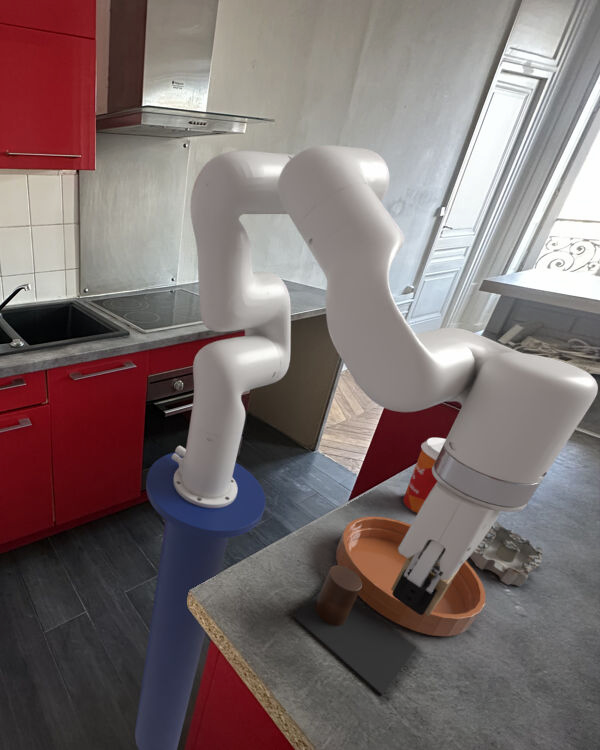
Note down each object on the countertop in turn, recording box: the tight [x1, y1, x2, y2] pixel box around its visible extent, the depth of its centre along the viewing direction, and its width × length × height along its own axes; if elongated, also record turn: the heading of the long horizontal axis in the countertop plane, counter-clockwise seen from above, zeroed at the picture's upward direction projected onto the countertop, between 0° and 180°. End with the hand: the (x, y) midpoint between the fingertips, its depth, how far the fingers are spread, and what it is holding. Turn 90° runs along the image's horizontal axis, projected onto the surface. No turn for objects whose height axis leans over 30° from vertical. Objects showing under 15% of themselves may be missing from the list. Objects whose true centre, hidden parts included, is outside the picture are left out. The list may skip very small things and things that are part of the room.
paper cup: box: [403, 437, 446, 514], centre depth 77 cm, size 8×8×14 cm
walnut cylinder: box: [315, 564, 362, 626], centre depth 58 cm, size 4×4×8 cm
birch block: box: [391, 555, 461, 616], centre depth 48 cm, size 4×4×6 cm
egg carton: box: [468, 520, 544, 587], centre depth 69 cm, size 11×8×4 cm
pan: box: [335, 516, 487, 637], centre depth 64 cm, size 18×18×4 cm
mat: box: [292, 589, 417, 697], centre depth 57 cm, size 12×10×1 cm
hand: (416, 592), depth 49 cm, fingers closed on birch block, 4 cm apart
